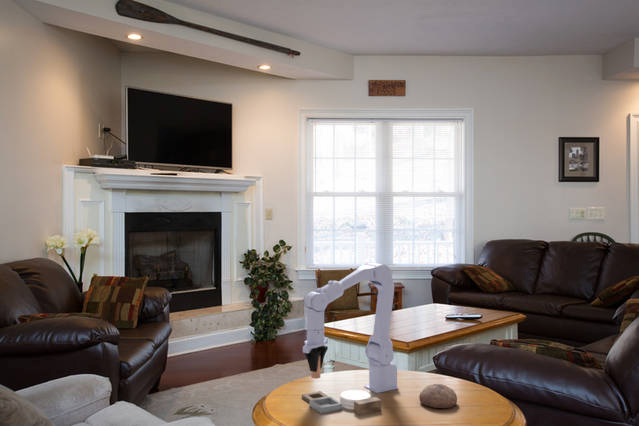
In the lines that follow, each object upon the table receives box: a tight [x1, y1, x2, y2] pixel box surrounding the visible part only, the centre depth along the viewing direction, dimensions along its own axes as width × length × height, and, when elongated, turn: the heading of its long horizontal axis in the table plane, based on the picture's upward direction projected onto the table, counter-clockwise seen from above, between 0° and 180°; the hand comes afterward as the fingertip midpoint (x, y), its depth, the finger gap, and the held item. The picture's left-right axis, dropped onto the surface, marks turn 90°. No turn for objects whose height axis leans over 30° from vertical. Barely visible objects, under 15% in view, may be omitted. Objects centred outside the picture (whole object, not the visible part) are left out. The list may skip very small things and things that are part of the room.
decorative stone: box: [418, 383, 458, 409], centre depth 174 cm, size 12×12×6 cm
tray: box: [309, 396, 343, 415], centre depth 170 cm, size 8×8×2 cm
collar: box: [301, 390, 330, 404], centre depth 178 cm, size 7×7×1 cm
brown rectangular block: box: [353, 396, 382, 416], centre depth 167 cm, size 8×3×4 cm, turn 118°
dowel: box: [310, 356, 321, 380], centre depth 178 cm, size 3×3×7 cm
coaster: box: [339, 389, 372, 411], centre depth 173 cm, size 10×10×4 cm
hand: (315, 369), depth 178 cm, fingers closed on dowel, 3 cm apart
